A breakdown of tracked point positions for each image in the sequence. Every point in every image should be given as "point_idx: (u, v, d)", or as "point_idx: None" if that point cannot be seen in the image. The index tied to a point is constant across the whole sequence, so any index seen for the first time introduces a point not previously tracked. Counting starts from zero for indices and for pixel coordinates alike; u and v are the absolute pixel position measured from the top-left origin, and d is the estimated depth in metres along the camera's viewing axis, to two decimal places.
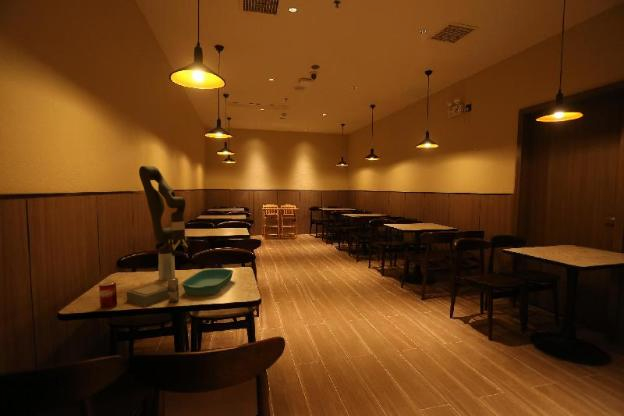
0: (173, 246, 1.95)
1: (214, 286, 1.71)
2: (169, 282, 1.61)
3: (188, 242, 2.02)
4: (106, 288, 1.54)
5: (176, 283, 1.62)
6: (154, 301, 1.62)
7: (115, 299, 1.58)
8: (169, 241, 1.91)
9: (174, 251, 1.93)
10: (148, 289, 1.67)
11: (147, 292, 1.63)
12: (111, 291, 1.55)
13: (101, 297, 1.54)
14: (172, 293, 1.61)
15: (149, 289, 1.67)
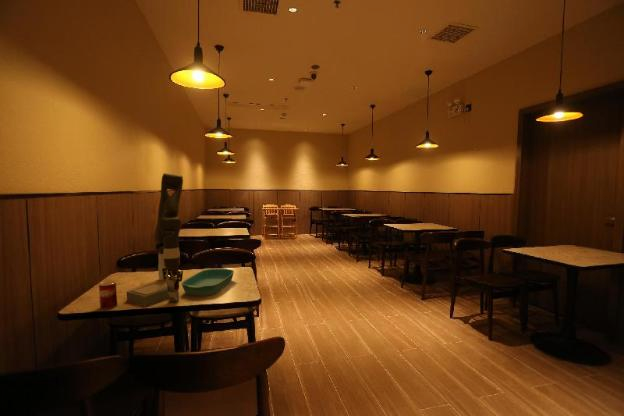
0: None
1: (213, 286, 1.71)
2: (169, 282, 1.61)
3: None
4: (106, 288, 1.54)
5: None
6: (154, 301, 1.62)
7: (115, 299, 1.58)
8: (181, 272, 1.60)
9: (178, 283, 1.63)
10: (148, 289, 1.67)
11: (147, 292, 1.63)
12: (110, 291, 1.55)
13: (101, 297, 1.54)
14: (172, 293, 1.61)
15: (149, 289, 1.67)
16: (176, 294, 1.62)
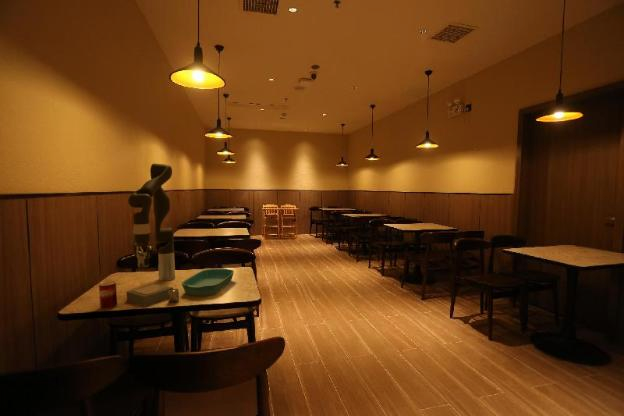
0: None
1: (213, 286, 1.71)
2: (139, 258, 1.62)
3: None
4: (106, 288, 1.54)
5: None
6: (154, 301, 1.62)
7: (115, 299, 1.58)
8: (151, 248, 1.61)
9: (148, 259, 1.64)
10: (148, 289, 1.67)
11: (147, 292, 1.63)
12: (110, 291, 1.55)
13: (101, 297, 1.54)
14: (172, 293, 1.61)
15: (149, 289, 1.67)
16: (176, 294, 1.62)
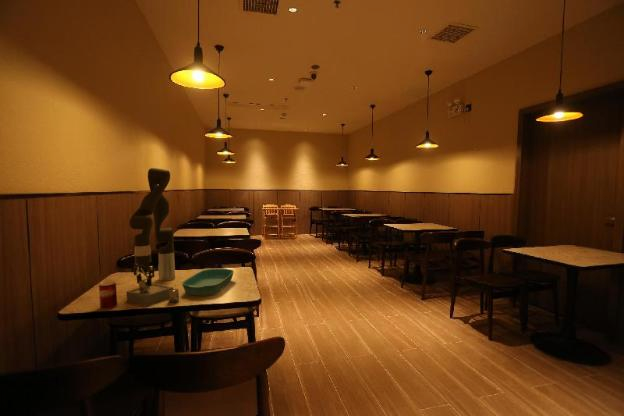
0: None
1: (214, 286, 1.71)
2: (140, 283, 1.63)
3: None
4: (106, 288, 1.54)
5: None
6: (154, 301, 1.62)
7: (115, 299, 1.58)
8: (152, 268, 1.62)
9: None
10: None
11: (147, 293, 1.63)
12: (110, 291, 1.55)
13: (101, 297, 1.54)
14: (172, 293, 1.61)
15: None
16: (176, 294, 1.63)
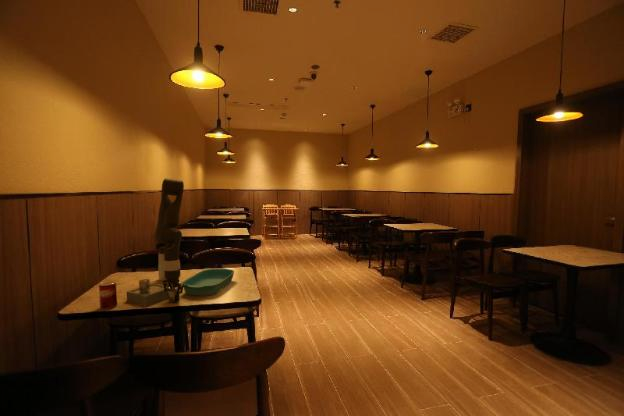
0: (175, 290, 1.62)
1: (213, 286, 1.71)
2: (140, 283, 1.63)
3: None
4: (106, 288, 1.54)
5: (147, 284, 1.65)
6: (154, 301, 1.62)
7: (115, 299, 1.58)
8: (181, 285, 1.60)
9: None
10: None
11: (147, 293, 1.63)
12: (110, 291, 1.55)
13: (101, 297, 1.54)
14: (172, 293, 1.61)
15: None
16: None
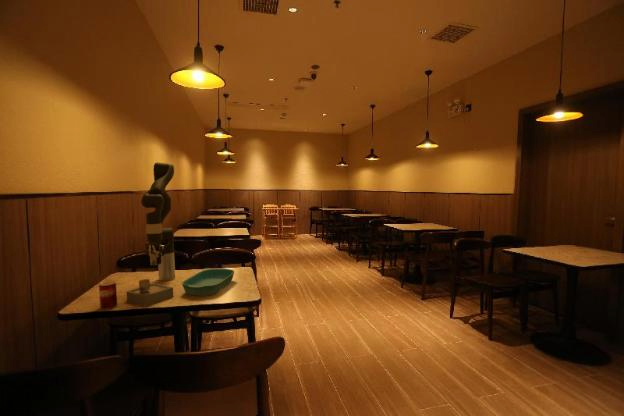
0: None
1: (213, 286, 1.71)
2: (140, 283, 1.63)
3: None
4: (106, 288, 1.54)
5: (147, 284, 1.65)
6: (154, 301, 1.62)
7: (115, 299, 1.58)
8: (163, 247, 1.66)
9: (160, 258, 1.69)
10: None
11: (147, 293, 1.63)
12: (110, 291, 1.55)
13: (101, 297, 1.54)
14: (154, 255, 1.67)
15: None
16: None
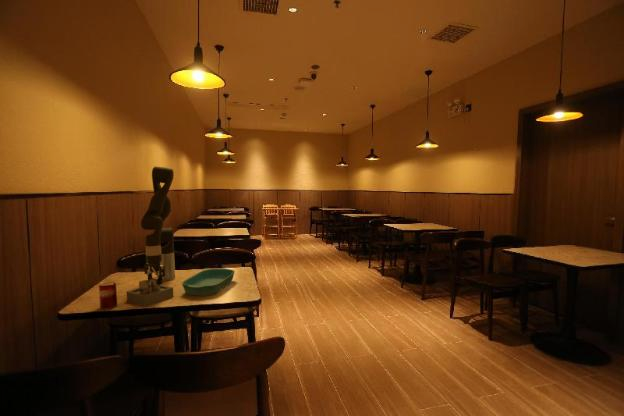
0: None
1: (213, 286, 1.71)
2: (140, 284, 1.63)
3: None
4: (106, 288, 1.54)
5: (147, 285, 1.65)
6: (154, 301, 1.62)
7: (115, 299, 1.58)
8: (162, 267, 1.67)
9: (161, 278, 1.69)
10: None
11: (147, 294, 1.63)
12: (110, 291, 1.55)
13: (101, 297, 1.54)
14: (154, 281, 1.68)
15: None
16: None
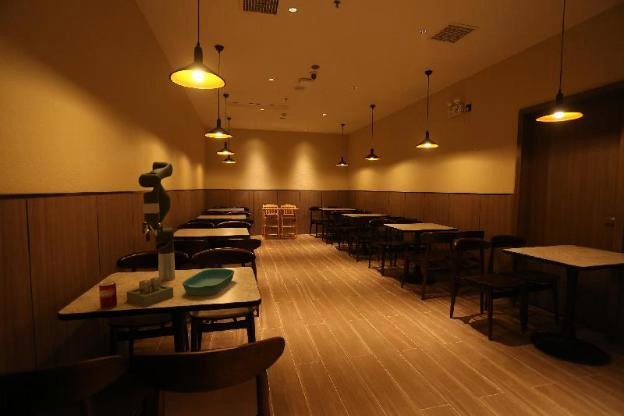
0: None
1: (214, 286, 1.71)
2: (140, 285, 1.63)
3: None
4: (106, 288, 1.54)
5: (147, 286, 1.65)
6: (154, 301, 1.62)
7: (115, 299, 1.58)
8: (160, 225, 1.65)
9: (159, 236, 1.68)
10: None
11: (147, 294, 1.63)
12: (110, 291, 1.55)
13: (101, 297, 1.54)
14: (154, 281, 1.68)
15: None
16: (158, 282, 1.70)
